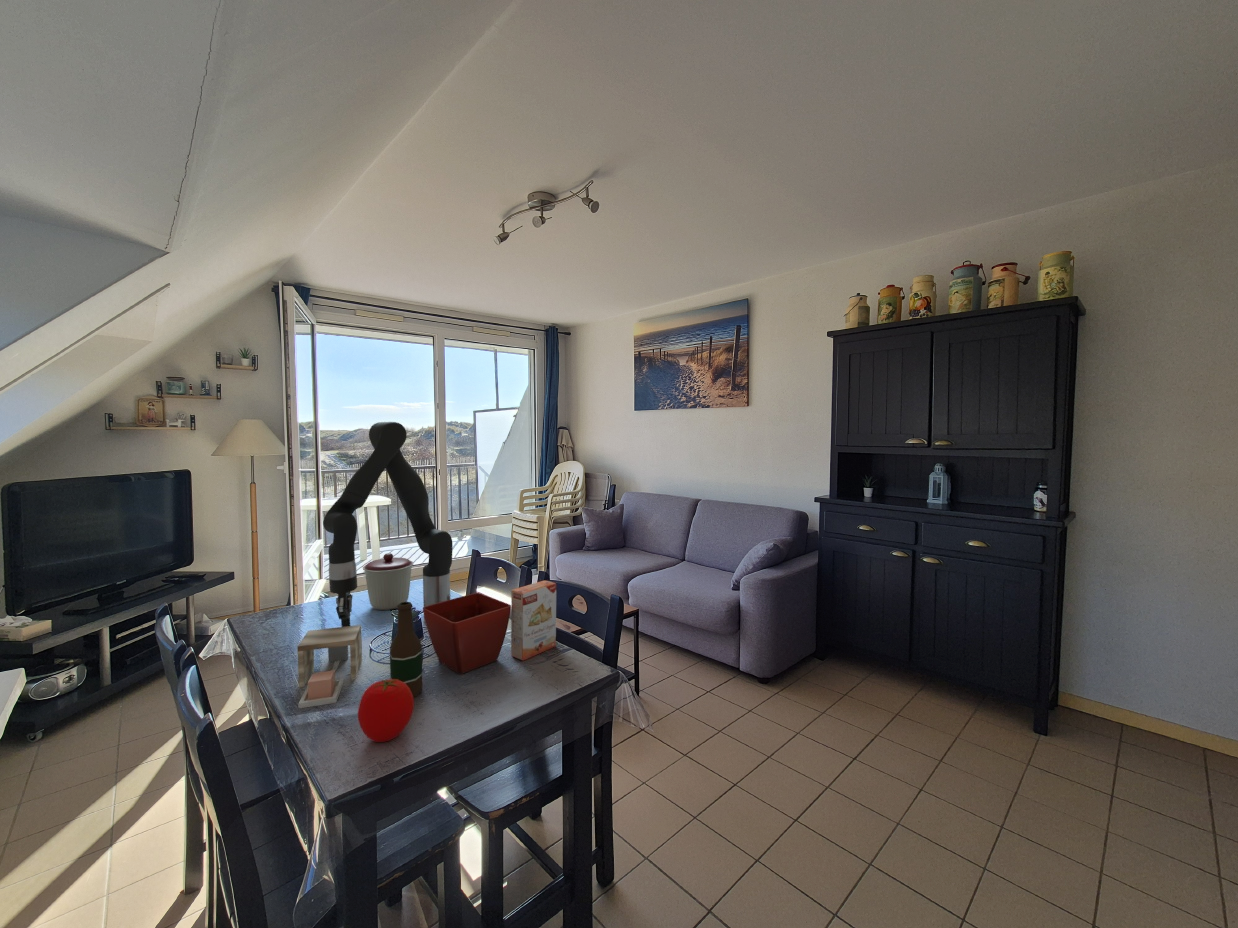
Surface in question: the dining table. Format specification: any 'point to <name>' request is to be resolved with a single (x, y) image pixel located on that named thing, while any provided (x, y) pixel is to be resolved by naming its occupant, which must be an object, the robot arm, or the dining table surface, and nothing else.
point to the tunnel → (328, 640)
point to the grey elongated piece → (335, 655)
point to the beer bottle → (406, 651)
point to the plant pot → (467, 630)
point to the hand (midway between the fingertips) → (346, 629)
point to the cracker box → (533, 619)
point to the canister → (388, 581)
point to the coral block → (321, 685)
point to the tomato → (385, 709)
